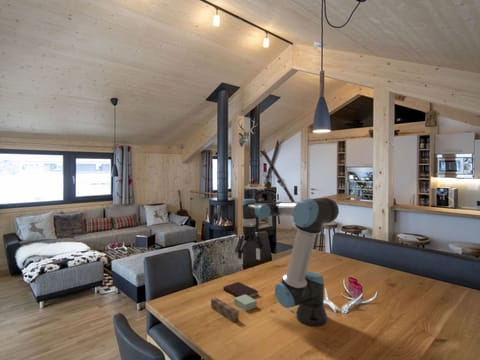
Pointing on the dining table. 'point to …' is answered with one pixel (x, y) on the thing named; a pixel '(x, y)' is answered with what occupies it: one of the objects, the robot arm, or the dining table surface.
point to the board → (225, 309)
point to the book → (240, 290)
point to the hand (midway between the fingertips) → (249, 261)
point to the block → (245, 302)
